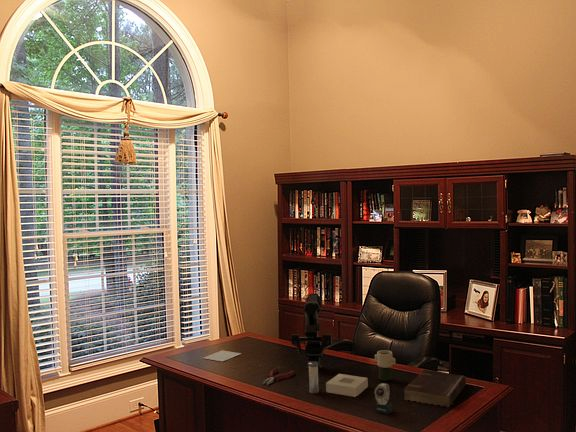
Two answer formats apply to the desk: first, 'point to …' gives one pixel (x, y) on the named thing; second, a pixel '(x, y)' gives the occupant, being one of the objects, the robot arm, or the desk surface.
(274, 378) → the pliers
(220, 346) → the desk surface
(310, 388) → the steel pin
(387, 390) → the watch
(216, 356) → the paper stack
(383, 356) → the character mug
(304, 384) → the desk surface
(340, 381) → the block
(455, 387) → the hardback book
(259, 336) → the desk surface
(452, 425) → the desk surface
